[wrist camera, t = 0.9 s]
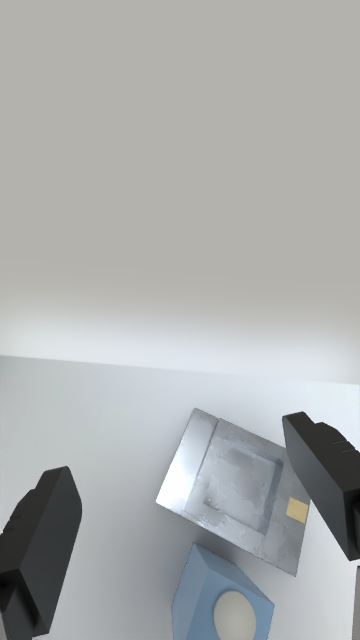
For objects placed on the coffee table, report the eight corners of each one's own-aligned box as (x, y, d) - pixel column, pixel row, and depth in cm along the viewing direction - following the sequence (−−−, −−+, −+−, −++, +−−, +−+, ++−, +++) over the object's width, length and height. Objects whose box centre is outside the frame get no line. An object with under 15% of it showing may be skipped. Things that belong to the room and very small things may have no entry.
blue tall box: (171, 606, 26) (175, 680, 16) (193, 542, 29) (209, 570, 18) (217, 634, 25) (254, 730, 15) (236, 565, 28) (278, 609, 18)
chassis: (155, 501, 30) (154, 502, 27) (194, 410, 35) (197, 401, 32) (290, 573, 28) (307, 584, 24) (312, 465, 32) (328, 462, 29)
